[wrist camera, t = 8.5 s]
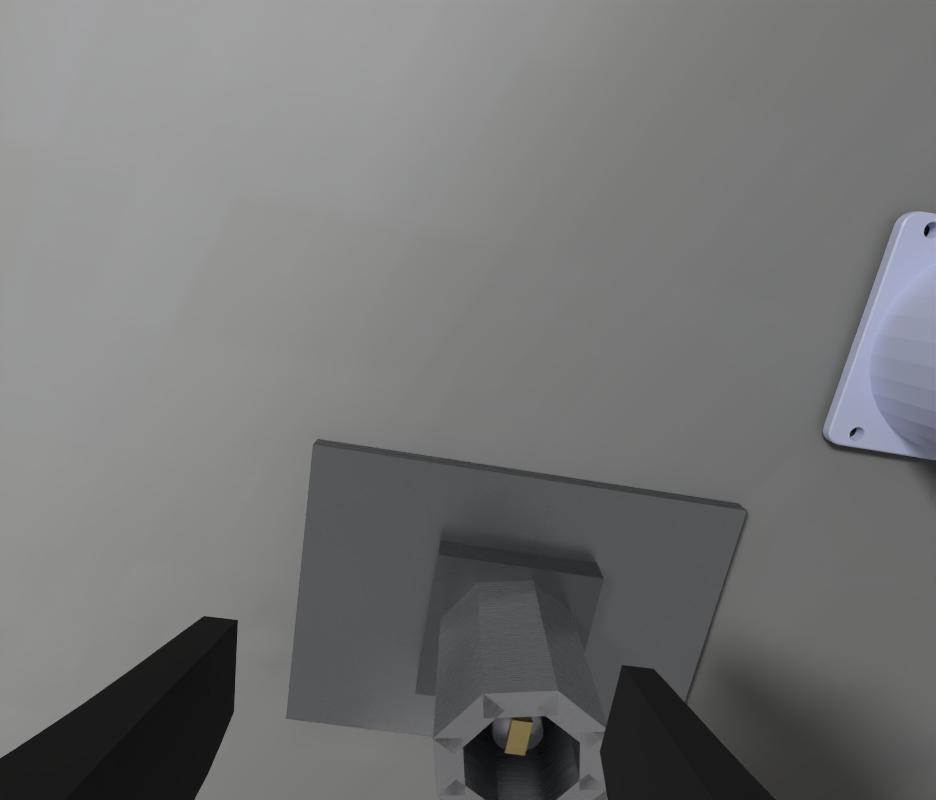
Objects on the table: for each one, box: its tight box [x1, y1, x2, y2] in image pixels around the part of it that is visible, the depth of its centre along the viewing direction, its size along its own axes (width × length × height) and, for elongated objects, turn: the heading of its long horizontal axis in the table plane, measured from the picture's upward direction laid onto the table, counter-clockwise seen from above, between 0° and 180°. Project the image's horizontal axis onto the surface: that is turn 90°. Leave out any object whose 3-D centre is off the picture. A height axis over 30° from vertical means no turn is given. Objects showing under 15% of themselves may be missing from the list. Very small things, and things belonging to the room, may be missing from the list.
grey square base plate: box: [286, 439, 747, 756], centre depth 18 cm, size 16×12×6 cm
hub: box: [433, 580, 607, 800], centre depth 17 cm, size 5×5×5 cm
